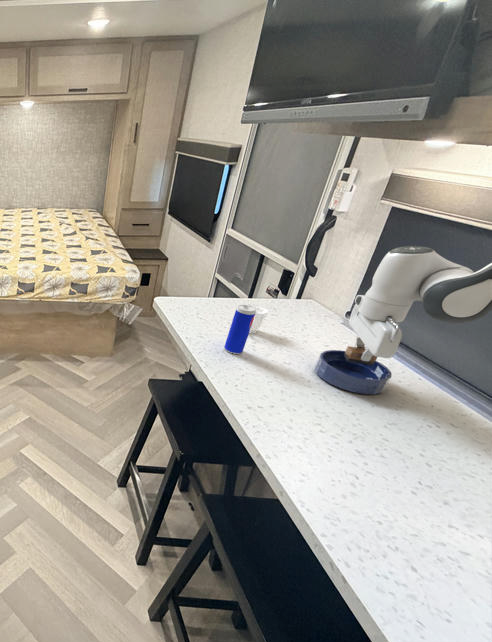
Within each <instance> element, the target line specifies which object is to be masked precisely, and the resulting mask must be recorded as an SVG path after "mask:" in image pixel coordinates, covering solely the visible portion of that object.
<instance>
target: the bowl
mask: <svg viewBox="0 0 492 642" xmlns="http://www.w3.org/2000/svg"><path fill="white" fill-rule="evenodd" d="M345 351H346V350H340V349H339V350H338V349H330V350H324V351H323V352H321V353H319V354H320V355H319V357H318V359H317V361H316V364H315V365H314V371H315V373H316V375H317V376H318V377H320V378H321V379H322V380H324V381H325V382H327V383H328V384H330V385H333V386H334V387H336V388H339V389H342V390H346V391H349V392H353V393H358V394H362V395H376V394H381V393H382V392H384V391H385V390H386V388H387V386H388V385H389V382H390V381H391V379H392V376H393V375H392V371H391V370H390V369H389V368H388V367H387V366H385V365H384V364H383V363H381V362H380V361H377V360H376V361H375V363H374V365H366V364H360V363H354V362H348V361H347V360H346V358H345V357H344V354H345Z"/></svg>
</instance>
